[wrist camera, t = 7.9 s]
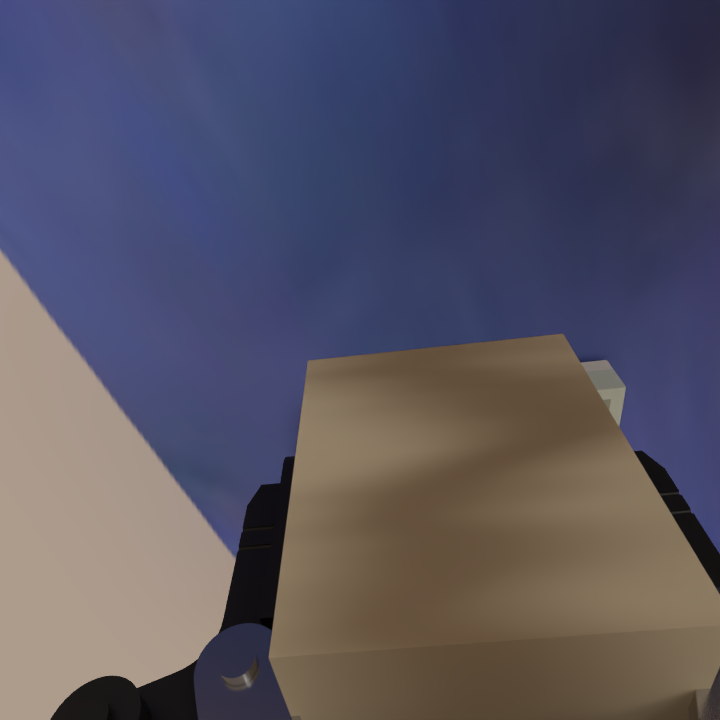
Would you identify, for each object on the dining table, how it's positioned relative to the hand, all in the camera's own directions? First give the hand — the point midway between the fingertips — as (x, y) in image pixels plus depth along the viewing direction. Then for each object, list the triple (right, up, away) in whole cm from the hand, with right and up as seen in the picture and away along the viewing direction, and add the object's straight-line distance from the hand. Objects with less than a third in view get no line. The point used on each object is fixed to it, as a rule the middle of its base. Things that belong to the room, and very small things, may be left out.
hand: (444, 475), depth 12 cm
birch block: (0, +1, +1) cm, 1 cm away
